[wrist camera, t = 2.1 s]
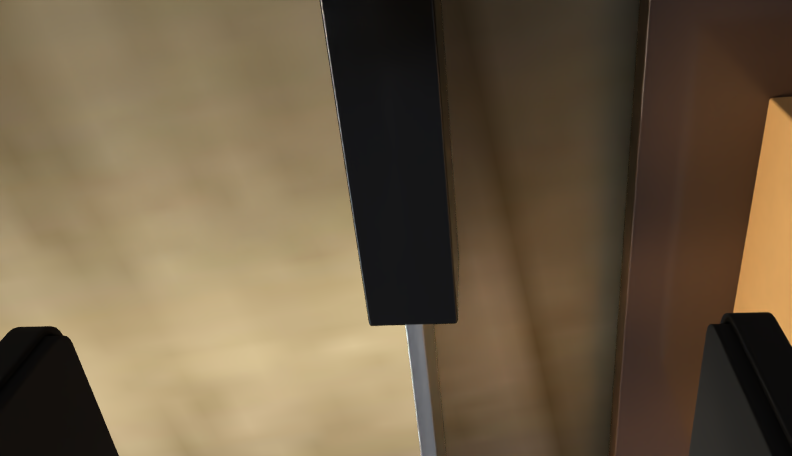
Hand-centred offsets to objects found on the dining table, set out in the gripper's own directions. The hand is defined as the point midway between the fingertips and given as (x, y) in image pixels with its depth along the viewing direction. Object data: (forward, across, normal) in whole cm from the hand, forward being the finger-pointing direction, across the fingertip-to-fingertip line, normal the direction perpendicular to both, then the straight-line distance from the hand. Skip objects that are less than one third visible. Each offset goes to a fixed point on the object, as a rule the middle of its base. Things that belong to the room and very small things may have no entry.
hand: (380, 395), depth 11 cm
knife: (+11, 0, +6) cm, 12 cm away
